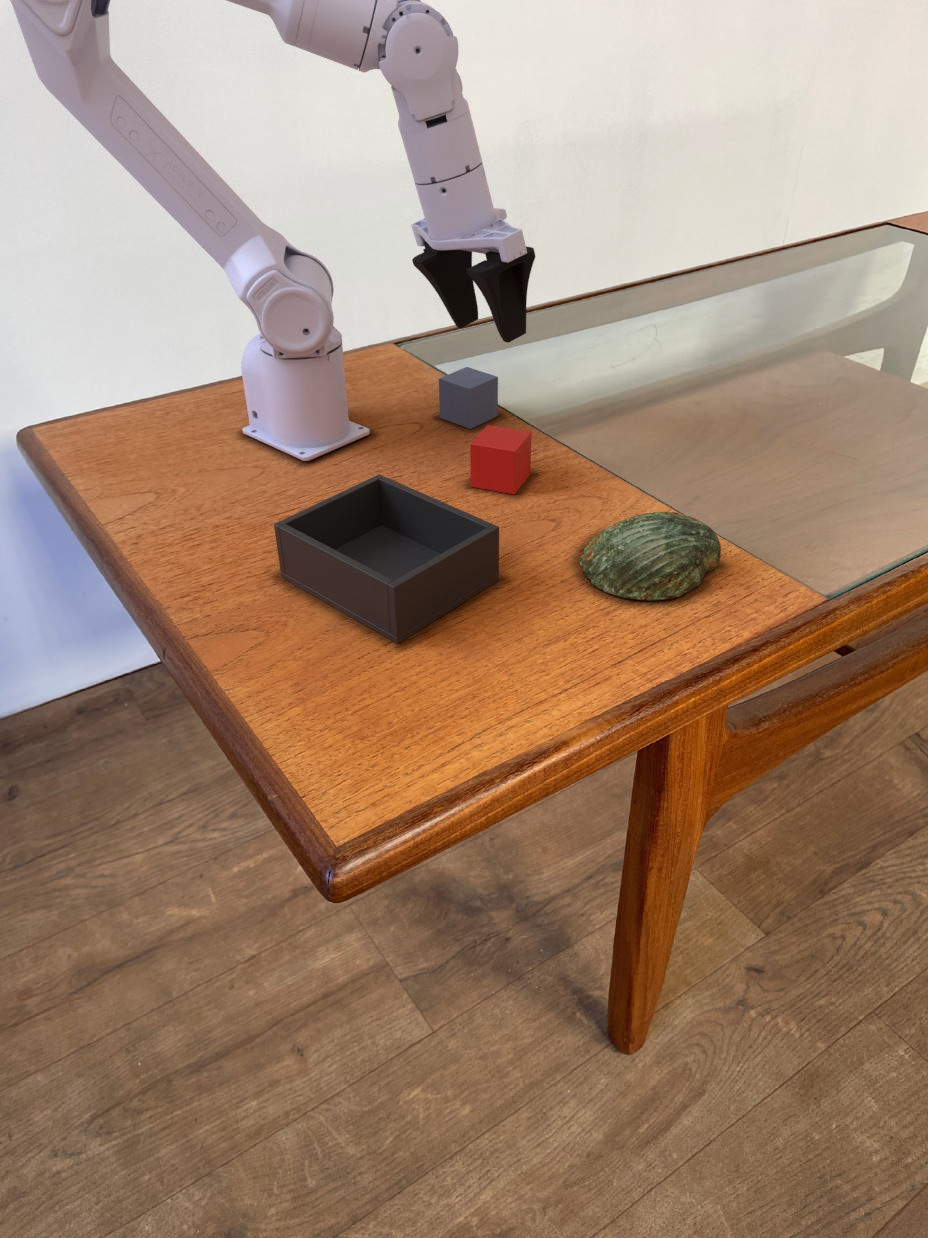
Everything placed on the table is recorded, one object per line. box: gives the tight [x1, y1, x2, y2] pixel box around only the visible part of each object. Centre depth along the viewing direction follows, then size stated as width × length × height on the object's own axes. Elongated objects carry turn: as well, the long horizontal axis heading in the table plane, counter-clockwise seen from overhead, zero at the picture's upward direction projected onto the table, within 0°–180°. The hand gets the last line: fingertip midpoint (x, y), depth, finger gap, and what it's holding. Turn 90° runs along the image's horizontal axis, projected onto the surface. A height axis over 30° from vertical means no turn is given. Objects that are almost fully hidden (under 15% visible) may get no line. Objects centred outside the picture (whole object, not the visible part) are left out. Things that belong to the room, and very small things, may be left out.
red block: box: [469, 424, 533, 495], centre depth 81 cm, size 4×4×4 cm
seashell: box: [579, 511, 722, 602], centre depth 70 cm, size 10×4×10 cm
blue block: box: [438, 366, 499, 430], centre depth 92 cm, size 4×4×4 cm
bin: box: [273, 473, 500, 645], centre depth 68 cm, size 12×10×4 cm
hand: (490, 330), depth 86 cm, fingers open, 7 cm apart
